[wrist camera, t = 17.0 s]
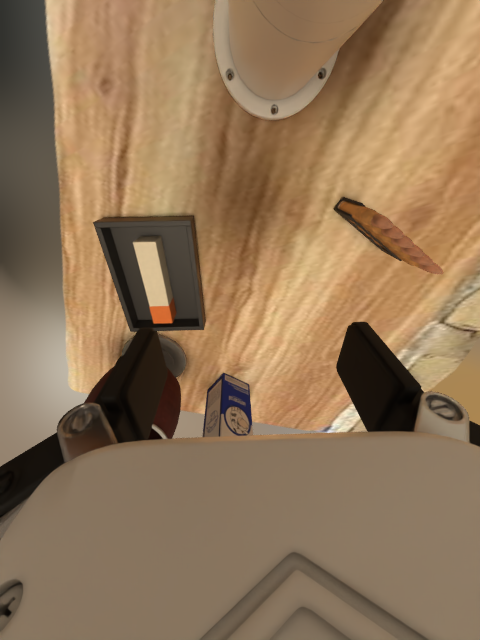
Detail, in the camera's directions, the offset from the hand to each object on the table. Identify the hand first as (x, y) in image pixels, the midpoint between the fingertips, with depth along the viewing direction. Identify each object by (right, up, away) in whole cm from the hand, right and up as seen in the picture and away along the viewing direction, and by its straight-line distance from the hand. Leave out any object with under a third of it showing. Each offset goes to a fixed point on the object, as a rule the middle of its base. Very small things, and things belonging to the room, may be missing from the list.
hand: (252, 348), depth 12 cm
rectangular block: (-13, +8, +25) cm, 30 cm away
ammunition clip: (+17, +15, +22) cm, 32 cm away
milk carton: (-3, -14, +41) cm, 43 cm away
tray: (-13, +8, +25) cm, 30 cm away
